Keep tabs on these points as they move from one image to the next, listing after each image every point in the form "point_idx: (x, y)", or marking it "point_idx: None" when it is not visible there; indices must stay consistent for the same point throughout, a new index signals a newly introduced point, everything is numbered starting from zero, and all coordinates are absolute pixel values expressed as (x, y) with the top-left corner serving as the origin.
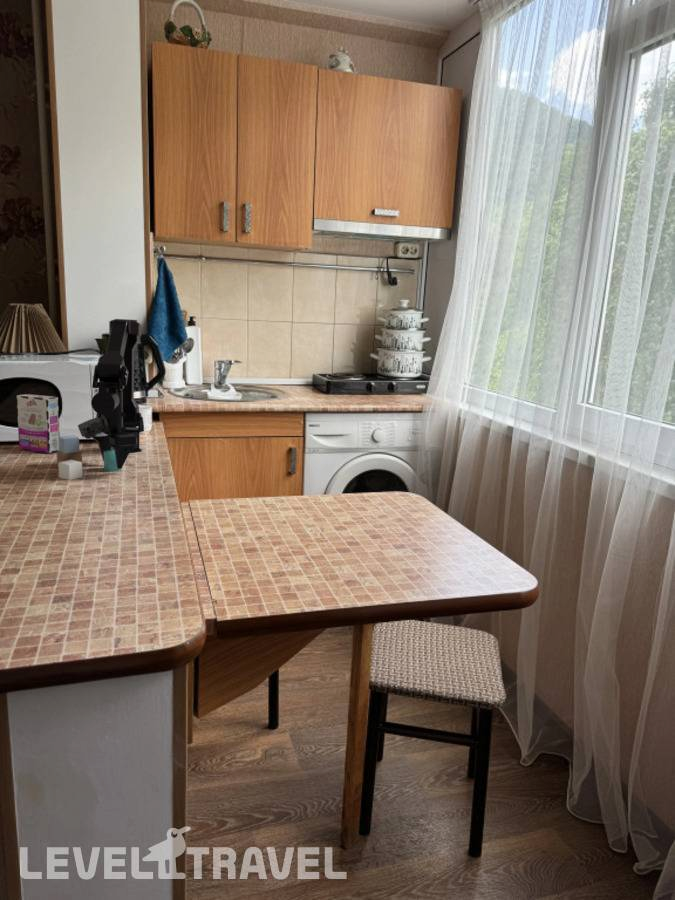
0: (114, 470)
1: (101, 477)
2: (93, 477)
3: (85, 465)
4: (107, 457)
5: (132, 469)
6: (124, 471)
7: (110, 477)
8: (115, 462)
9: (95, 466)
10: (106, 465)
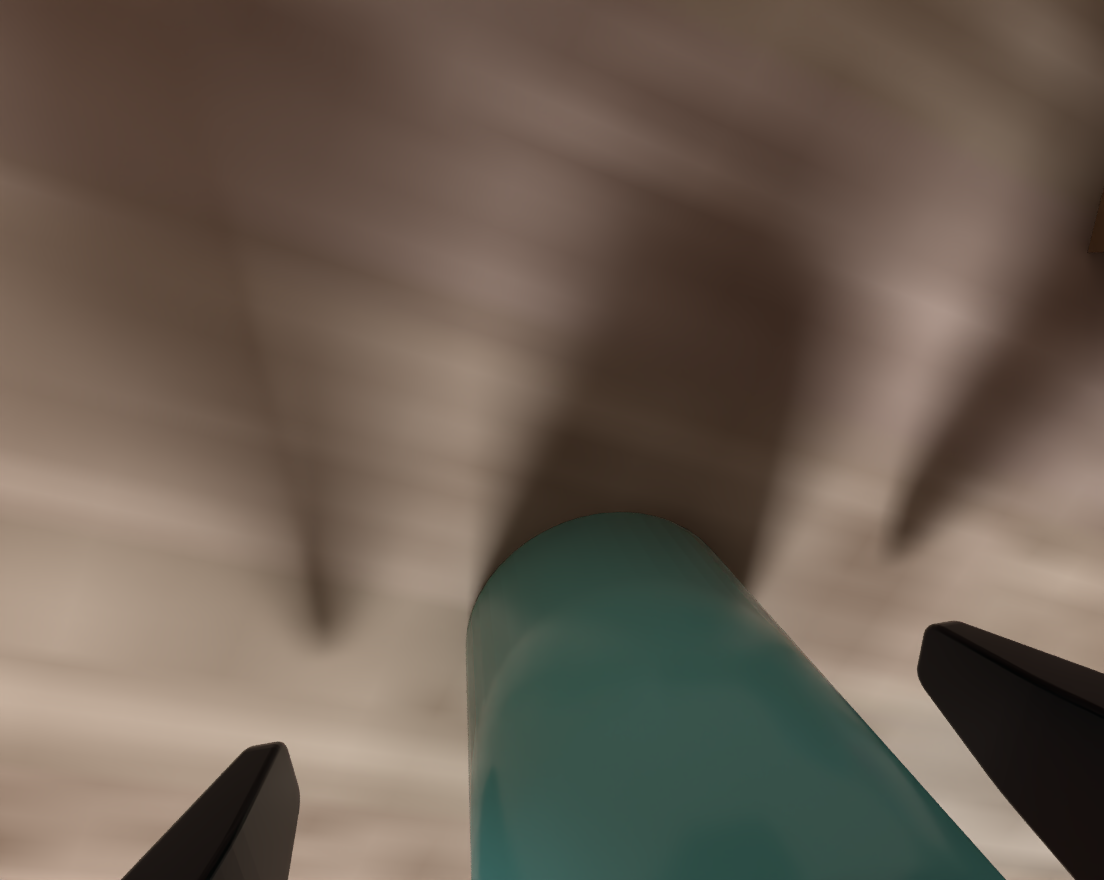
0: (466, 651)
1: (49, 305)
2: (95, 126)
3: (1078, 317)
4: (585, 790)
5: None
6: (407, 765)
7: (5, 479)
8: (470, 810)
9: (924, 449)
10: (567, 595)
